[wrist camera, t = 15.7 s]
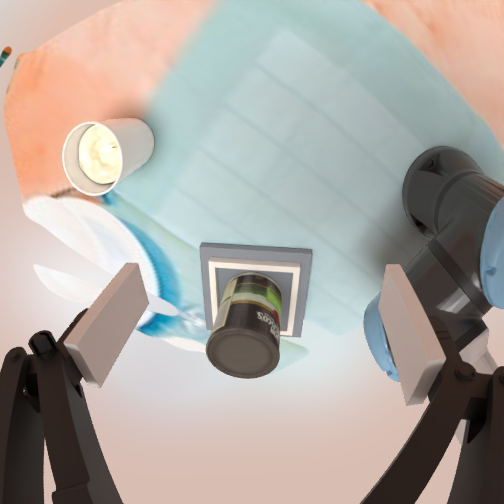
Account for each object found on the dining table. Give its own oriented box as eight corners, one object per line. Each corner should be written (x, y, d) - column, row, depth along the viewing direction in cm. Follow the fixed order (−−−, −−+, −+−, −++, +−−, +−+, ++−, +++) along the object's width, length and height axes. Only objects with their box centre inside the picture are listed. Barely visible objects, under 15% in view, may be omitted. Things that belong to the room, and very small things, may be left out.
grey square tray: (311, 249, 50) (312, 258, 47) (300, 332, 58) (300, 342, 56) (201, 242, 51) (197, 251, 49) (208, 324, 60) (205, 334, 57)
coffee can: (265, 262, 50) (257, 319, 38) (292, 308, 54) (291, 369, 42) (212, 284, 53) (191, 341, 41) (241, 325, 57) (230, 384, 45)
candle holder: (152, 105, 41) (112, 111, 31) (165, 166, 46) (130, 188, 35) (100, 122, 43) (55, 134, 32) (113, 177, 47) (73, 201, 37)
